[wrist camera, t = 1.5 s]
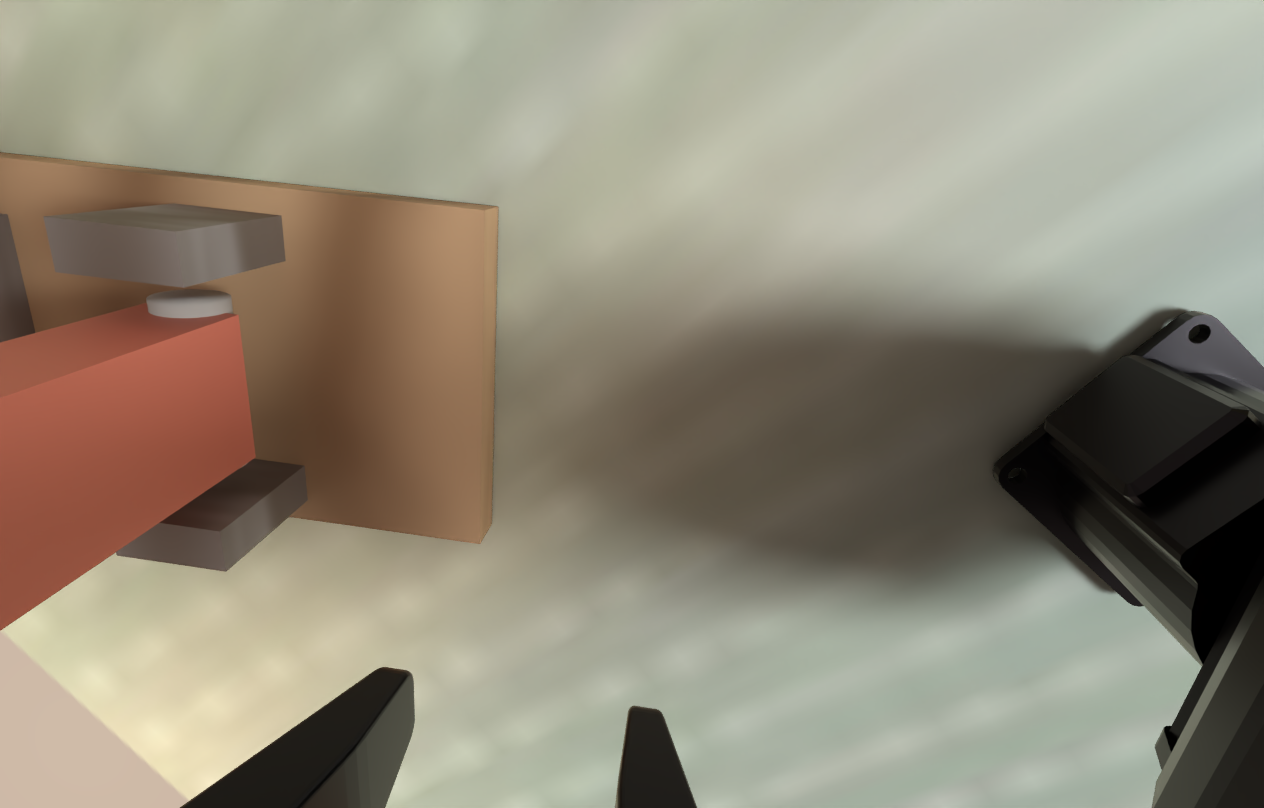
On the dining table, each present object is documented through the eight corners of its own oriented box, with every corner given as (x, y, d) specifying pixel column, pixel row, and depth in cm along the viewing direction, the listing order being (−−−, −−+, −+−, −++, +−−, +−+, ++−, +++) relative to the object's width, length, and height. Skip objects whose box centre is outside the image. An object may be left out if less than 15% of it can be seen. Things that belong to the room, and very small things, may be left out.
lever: (263, 285, 18) (-571, 538, 6) (282, 463, 19) (-330, 912, 8) (162, 272, 18) (-833, 497, 6) (190, 450, 20) (-537, 872, 8)
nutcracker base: (498, 206, 18) (426, 225, 14) (491, 523, 22) (433, 624, 17) (-172, 133, 20) (-448, 128, 15) (-75, 444, 23) (-271, 518, 19)
